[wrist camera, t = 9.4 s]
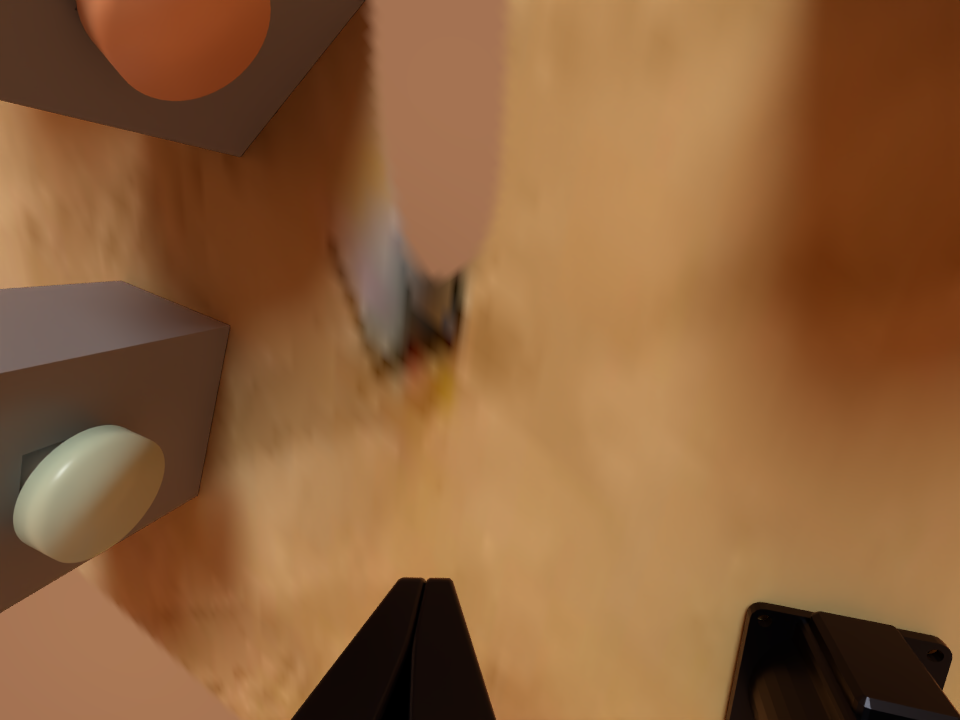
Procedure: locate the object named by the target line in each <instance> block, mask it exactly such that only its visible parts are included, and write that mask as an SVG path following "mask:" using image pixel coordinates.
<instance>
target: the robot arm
mask: <svg viewBox="0 0 960 720" xmlns="http://www.w3.org/2000/svg"><path fill="white" fill-rule="evenodd" d="M761 615H767V616H768V618H767V619H765V620H760V619H758V617H759V616H761ZM930 650H937V651H936V652H935V653H932V654H927V653H928V652H929V651H930ZM951 661H952V653H951V651H950V649H949V648H948V647H947V646H946V644H945V643H944V642H943V641H942V640H941V639H939V638H938V637H935V636H932V635H927V634H922V633H917V632H911V631H906V630H901V629H896V628H895V627H894V626H891V625H887V624H882V623H877V622H871V621H866V620H861V619H856V618H851V617H846V616H841V615H836V614H831V613H826V612H810V611H805V610H800V609H795V608H790V607H785V606H780V605H774V604H769V603H764V602H757V603H754V604H752V605H751V606H750V607H749V609H748V611H747V615H746V620H745V625H744V630H743V635H742V640H741V645H740V650H739V655H738V660H737V665H736V670H735V675H734V680H733V685H732V690H731V695H730V700H729V705H728V710H727V715H726V720H960V714H959V713H958V711H957V710H956V709H955V707H954V706H953V705H952V703H951V702H950V700H949V699H948V698H947V696H946V695H945V694H944V692H943V691H942V690H943V687H944V684H945V681H946V677H947V674H948V671H949V668H950V664H951ZM291 720H496V718H495V715H494V711H493V708H492V705H491V702H490V699H489V695H488V692H487V689H486V686H485V683H484V679H483V676H482V673H481V670H480V667H479V663H478V660H477V657H476V654H475V651H474V647H473V644H472V641H471V638H470V635H469V631H468V628H467V625H466V622H465V619H464V615H463V612H462V609H461V606H460V603H459V599H458V596H457V593H456V590H455V587H454V583H453V581H452V580H451V579H450V578H429V579H427V581H425V579H423V578H407V577H404V578H401V579H399V580H398V581H397V582H396V584H395V585H394V586H393V588H392V589H391V590H390V591H389V593H388V594H387V595H386V597H385V598H384V599H383V601H382V602H381V603H380V604H379V606H378V607H377V608H376V610H375V611H374V612H373V614H372V615H371V616H370V617H369V619H368V620H367V621H366V623H365V624H364V625H363V627H362V628H361V629H360V630H359V632H358V633H357V634H356V636H355V637H354V638H353V640H352V641H351V642H350V643H349V645H348V646H347V647H346V649H345V650H344V651H343V653H342V654H341V655H340V656H339V658H338V659H337V660H336V662H335V663H334V664H333V666H332V667H331V668H330V669H329V671H328V672H327V673H326V675H325V676H324V677H323V679H322V680H321V681H320V682H319V684H318V685H317V686H316V688H315V689H314V690H313V692H312V693H311V694H310V695H309V697H308V698H307V699H306V701H305V702H304V703H303V705H302V706H301V707H300V708H299V710H298V711H297V712H296V714H295V715H294V716H293V718H292V719H291Z"/></svg>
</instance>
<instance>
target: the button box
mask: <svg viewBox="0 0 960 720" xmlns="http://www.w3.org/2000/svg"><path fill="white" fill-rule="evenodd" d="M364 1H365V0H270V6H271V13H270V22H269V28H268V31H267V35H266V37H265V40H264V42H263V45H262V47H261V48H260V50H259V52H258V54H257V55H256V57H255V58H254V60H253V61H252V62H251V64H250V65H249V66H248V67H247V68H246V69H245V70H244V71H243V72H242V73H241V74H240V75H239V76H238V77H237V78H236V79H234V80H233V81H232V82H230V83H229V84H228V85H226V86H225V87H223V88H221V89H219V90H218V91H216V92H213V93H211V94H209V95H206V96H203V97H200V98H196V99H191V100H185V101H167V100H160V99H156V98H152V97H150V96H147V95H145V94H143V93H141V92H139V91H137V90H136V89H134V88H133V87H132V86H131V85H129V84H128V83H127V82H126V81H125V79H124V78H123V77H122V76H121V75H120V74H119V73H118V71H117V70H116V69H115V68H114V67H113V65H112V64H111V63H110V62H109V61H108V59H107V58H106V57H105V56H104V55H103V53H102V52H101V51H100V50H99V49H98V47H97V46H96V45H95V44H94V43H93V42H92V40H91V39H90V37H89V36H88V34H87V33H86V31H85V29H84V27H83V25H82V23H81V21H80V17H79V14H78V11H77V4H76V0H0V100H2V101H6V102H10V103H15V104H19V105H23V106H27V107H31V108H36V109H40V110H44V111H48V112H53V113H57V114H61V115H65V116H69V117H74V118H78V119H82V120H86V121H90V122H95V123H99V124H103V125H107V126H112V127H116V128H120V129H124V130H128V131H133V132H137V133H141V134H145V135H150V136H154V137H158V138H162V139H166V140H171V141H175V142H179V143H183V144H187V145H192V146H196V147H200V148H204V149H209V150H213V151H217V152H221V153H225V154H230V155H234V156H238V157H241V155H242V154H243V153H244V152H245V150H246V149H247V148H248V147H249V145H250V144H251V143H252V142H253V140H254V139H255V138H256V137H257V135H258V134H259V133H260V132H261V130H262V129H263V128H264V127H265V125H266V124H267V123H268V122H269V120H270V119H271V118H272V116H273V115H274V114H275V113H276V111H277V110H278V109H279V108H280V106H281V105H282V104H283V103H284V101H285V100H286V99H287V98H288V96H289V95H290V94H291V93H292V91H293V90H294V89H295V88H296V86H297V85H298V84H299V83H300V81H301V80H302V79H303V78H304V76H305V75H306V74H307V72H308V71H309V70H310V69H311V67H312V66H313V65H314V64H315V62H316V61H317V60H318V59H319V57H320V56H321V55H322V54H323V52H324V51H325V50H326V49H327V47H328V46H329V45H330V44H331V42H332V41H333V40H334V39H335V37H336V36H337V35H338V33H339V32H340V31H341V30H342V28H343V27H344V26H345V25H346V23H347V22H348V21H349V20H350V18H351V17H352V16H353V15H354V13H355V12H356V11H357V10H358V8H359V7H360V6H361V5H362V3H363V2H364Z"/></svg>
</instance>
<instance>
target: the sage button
mask: <svg viewBox="0 0 960 720" xmlns="http://www.w3.org/2000/svg"><path fill="white" fill-rule="evenodd" d="M164 469H165V460H164V455H163V452H162V450H161V448H160V447H159V446H158V445H157V444H156V443H155V442H153V441H152V440H150V439H147V438H145V437H143V436H141V435H139V434H137V433H135V432H132V431H130V430H128V429H126V428H124V427H121V426H117V425H102V426H97V427H93V428H90V429H87V430H85V431H82V432H80V433H78V434H76V435H74V436H73V437H71V438H69V439H68V440H66V441H65V442H63V443H62V442H59V443H56V444H53V445H50V446H47V447H44V448H42V449H39V450H36V451H33V452H30V453H27V454H25V455H22V465H21V477H20V488H22V489H21V491H20V494H19V496H18V498H17V501H16V504H15V508H14V514H13V525H14V530H15V532H16V535H17V536H18V538H19V539H20V540H21V541H22V542H23V543H25V544H26V545H28V546H30V547H32V548H34V549H36V550H38V551H40V552H41V553H43V554H45V555H47V556H49V557H51V558H53V559H55V560H57V561H59V562H63V563H77V562H82V561H85V560H88V559H91V558H93V557H95V556H97V555H99V554H101V553H103V552H105V551H106V550H108V549H109V548H111V547H112V546H113V545H115V544H116V543H117V542H119V541H120V540H121V539H122V538H123V537H125V536H126V535H127V534H128V533H129V532H130V531H131V530H132V529H133V528H134V527H135V525H136V524H137V523H138V522H139V521H140V520H141V518H142V517H143V516H144V515H145V513H146V512H147V510H148V509H149V507H150V506H151V504H152V502H153V501H154V499H155V497H156V495H157V493H158V491H159V488H160V486H161V483H162V480H163V475H164Z"/></svg>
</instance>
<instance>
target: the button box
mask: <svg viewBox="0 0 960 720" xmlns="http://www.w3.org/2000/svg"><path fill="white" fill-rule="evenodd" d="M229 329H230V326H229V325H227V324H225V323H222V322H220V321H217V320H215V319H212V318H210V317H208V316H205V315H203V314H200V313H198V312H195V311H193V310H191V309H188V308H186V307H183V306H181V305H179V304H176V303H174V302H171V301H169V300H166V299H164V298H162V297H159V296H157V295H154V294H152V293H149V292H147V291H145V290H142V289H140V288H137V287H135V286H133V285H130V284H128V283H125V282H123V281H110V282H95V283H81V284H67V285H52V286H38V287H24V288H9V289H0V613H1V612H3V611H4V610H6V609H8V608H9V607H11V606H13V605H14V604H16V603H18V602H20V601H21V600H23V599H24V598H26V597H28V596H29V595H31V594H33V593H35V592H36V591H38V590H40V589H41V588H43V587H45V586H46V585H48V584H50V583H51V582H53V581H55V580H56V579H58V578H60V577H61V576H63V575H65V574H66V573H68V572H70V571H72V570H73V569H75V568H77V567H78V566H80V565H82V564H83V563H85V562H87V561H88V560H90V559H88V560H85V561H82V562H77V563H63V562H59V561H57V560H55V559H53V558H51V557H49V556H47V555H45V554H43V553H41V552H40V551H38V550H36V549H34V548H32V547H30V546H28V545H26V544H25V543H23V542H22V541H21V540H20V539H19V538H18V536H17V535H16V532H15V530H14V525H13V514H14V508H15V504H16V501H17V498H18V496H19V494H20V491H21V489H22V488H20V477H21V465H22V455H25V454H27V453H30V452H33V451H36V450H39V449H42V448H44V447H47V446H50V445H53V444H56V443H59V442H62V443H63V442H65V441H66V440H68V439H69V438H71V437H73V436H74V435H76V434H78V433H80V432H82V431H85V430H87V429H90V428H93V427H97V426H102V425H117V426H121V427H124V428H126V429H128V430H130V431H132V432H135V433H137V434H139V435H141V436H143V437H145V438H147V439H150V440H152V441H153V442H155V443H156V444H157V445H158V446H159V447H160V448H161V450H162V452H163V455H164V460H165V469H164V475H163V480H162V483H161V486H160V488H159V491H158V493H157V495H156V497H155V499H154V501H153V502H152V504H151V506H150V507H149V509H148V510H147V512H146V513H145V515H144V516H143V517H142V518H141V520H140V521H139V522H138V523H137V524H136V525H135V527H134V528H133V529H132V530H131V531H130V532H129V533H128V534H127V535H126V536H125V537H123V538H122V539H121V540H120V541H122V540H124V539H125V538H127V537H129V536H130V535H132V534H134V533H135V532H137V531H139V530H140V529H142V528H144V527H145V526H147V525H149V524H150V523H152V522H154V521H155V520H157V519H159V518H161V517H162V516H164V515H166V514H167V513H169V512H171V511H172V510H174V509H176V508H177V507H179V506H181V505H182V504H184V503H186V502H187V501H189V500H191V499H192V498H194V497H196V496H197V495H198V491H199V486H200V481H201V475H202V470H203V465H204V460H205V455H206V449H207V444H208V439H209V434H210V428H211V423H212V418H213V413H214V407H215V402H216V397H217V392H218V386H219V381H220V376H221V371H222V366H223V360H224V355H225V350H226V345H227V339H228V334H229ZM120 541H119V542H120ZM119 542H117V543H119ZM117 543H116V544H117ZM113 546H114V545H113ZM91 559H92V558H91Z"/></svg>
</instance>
